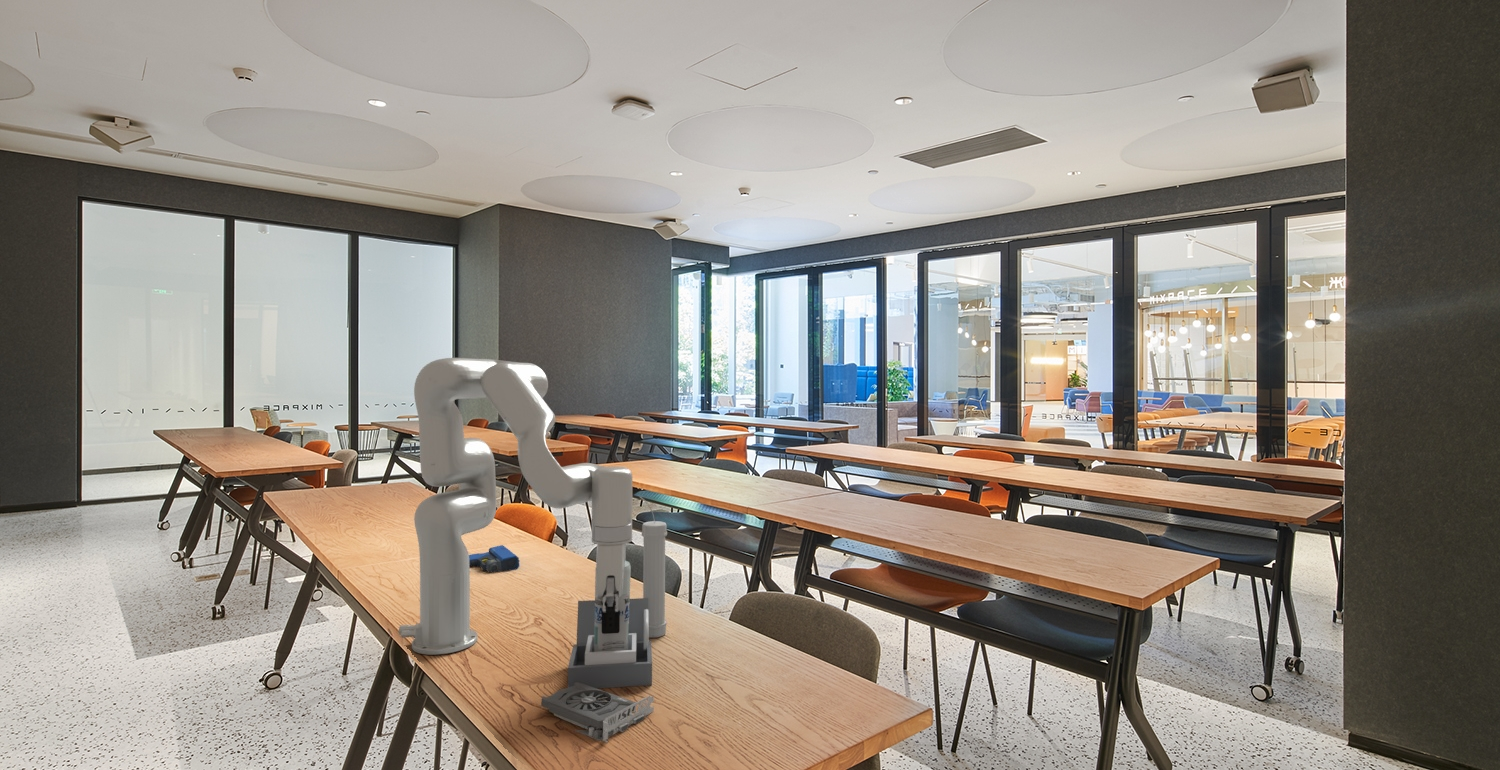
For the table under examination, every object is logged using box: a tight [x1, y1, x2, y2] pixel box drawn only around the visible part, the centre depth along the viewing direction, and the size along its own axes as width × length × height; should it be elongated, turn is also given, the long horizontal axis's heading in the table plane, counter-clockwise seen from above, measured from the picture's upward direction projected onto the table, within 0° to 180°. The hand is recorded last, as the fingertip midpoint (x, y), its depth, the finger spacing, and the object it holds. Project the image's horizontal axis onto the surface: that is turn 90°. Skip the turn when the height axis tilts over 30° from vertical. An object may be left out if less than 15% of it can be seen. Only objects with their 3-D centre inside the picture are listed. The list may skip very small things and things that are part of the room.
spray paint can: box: [594, 560, 632, 652], centre depth 133 cm, size 6×6×20 cm
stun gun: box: [469, 544, 520, 573], centre depth 206 cm, size 4×16×15 cm
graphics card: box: [540, 682, 655, 743], centre depth 118 cm, size 17×4×12 cm
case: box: [567, 597, 653, 689], centre depth 136 cm, size 15×16×11 cm
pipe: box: [639, 496, 668, 639], centre depth 154 cm, size 6×6×30 cm
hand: (611, 623), depth 133 cm, fingers open, 9 cm apart
